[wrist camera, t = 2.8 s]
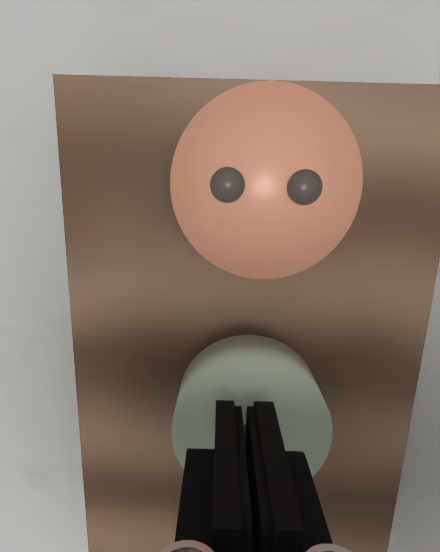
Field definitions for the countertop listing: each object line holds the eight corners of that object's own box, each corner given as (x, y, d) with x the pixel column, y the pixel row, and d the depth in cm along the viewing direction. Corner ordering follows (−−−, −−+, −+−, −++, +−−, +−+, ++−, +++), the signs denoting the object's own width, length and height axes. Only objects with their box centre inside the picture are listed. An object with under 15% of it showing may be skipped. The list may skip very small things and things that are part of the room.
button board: (357, 529, 20) (380, 588, 17) (110, 520, 20) (90, 576, 17) (421, 106, 15) (470, 85, 12) (86, 96, 15) (52, 74, 12)
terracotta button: (330, 267, 12) (352, 282, 10) (179, 262, 12) (170, 277, 10) (347, 102, 11) (376, 82, 8) (179, 98, 11) (169, 76, 9)
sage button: (310, 458, 13) (324, 506, 11) (179, 454, 14) (170, 500, 12) (322, 337, 12) (341, 366, 10) (179, 332, 12) (170, 360, 10)
